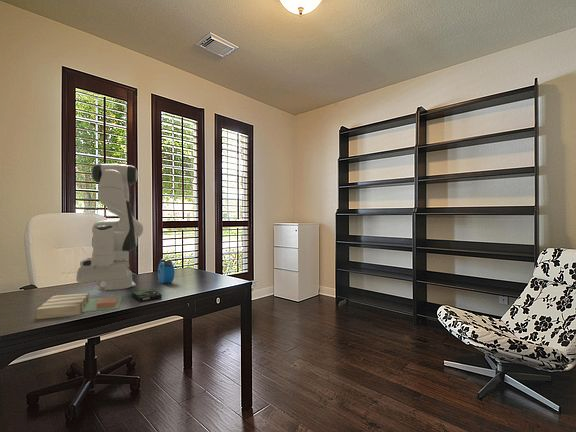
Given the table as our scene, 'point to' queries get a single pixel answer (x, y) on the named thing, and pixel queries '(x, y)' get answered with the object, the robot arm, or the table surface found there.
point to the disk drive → (146, 295)
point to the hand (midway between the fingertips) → (103, 290)
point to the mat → (92, 306)
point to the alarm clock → (165, 271)
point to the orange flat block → (107, 302)
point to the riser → (63, 306)
